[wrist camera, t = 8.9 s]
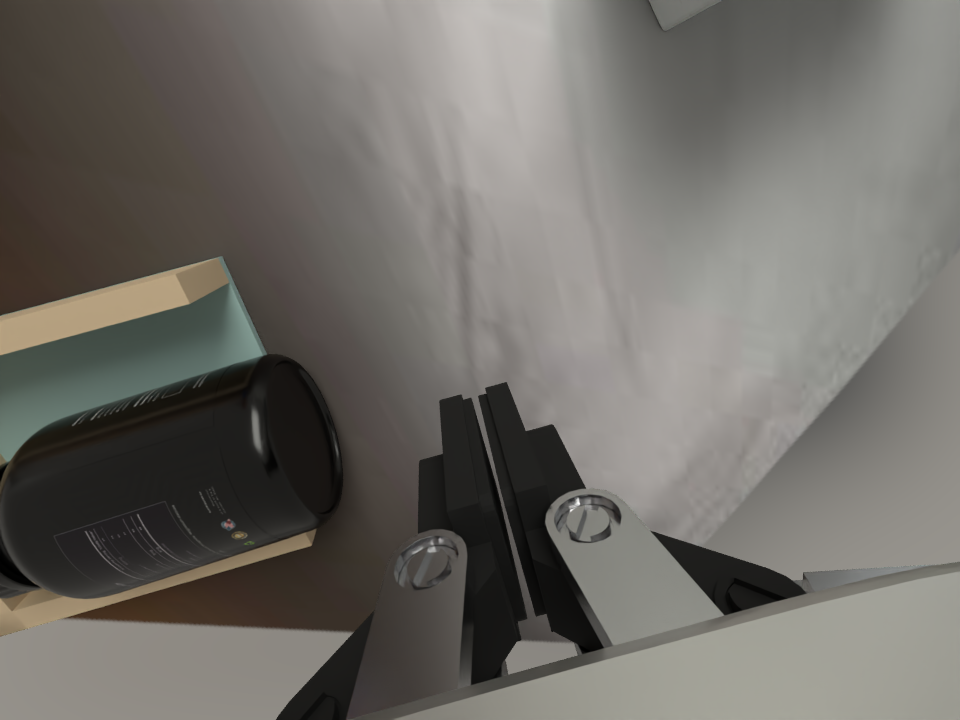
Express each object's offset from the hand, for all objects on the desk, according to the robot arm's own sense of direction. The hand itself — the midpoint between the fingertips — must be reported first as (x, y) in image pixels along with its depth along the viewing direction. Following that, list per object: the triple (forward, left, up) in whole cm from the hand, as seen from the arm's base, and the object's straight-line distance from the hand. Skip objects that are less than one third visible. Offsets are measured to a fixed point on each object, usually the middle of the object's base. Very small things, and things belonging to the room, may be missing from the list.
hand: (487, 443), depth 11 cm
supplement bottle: (+6, +2, -6) cm, 9 cm away
